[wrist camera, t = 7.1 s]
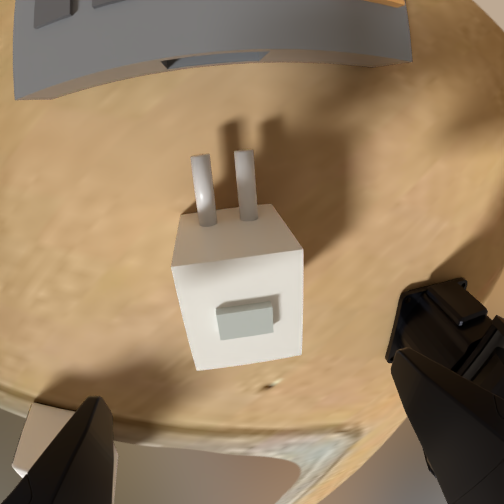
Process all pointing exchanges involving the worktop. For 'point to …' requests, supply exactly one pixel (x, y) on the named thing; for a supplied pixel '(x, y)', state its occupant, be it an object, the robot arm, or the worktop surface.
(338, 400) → the worktop surface
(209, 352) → the charger
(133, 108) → the worktop surface
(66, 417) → the medicine bottle
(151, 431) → the worktop surface
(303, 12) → the power strip
